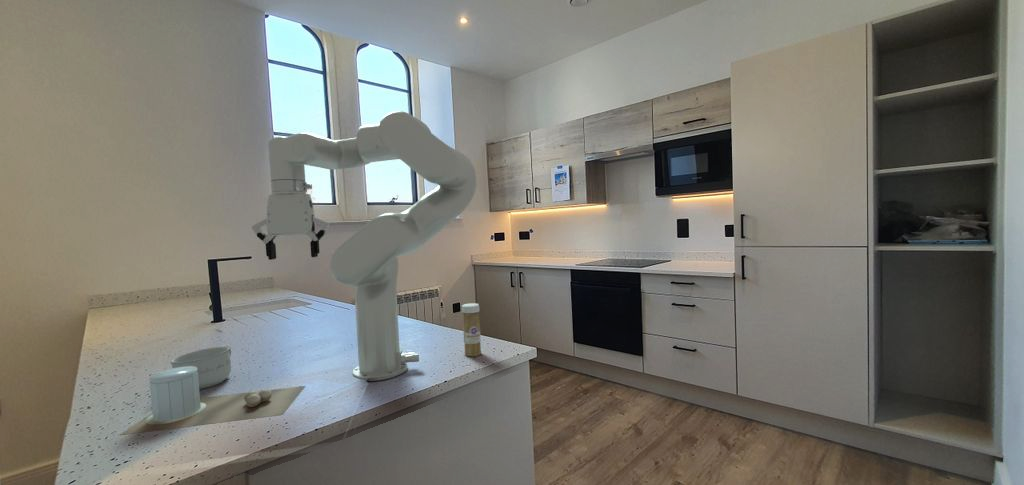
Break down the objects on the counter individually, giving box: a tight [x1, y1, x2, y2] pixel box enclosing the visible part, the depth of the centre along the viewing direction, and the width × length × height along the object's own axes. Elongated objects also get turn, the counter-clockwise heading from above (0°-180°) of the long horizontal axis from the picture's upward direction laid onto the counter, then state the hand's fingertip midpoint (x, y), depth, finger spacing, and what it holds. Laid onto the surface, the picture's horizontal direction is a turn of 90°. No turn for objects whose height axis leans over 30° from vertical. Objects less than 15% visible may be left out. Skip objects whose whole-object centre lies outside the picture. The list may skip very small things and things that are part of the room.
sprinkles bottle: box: [461, 302, 482, 357], centre depth 107 cm, size 5×5×13 cm
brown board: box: [119, 385, 306, 436], centre depth 79 cm, size 26×14×3 cm, turn 101°
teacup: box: [170, 344, 232, 390], centre depth 95 cm, size 14×11×8 cm
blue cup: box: [149, 366, 201, 422], centre depth 77 cm, size 7×7×8 cm
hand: (293, 258), depth 100 cm, fingers open, 9 cm apart
